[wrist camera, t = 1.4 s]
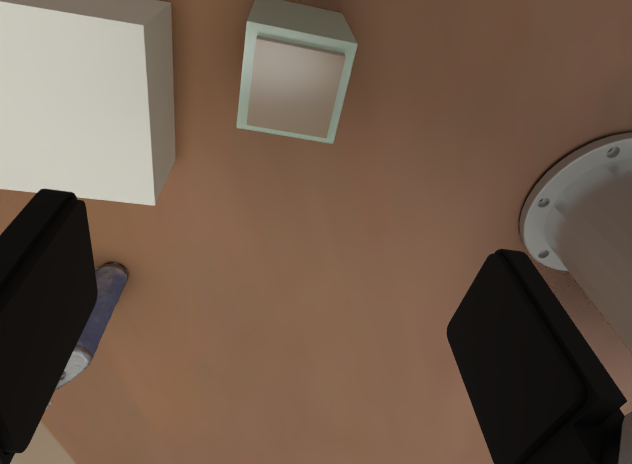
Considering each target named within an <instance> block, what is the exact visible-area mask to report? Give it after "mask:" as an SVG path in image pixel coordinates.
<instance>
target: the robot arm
mask: <svg viewBox="0 0 632 464" xmlns="http://www.w3.org/2000/svg"><path fill="white" fill-rule="evenodd" d="M519 226H520V236H521V239H522V242H523V244H524V245H525V247H526V249H527V250H528V252H529V253H530V254H531V256H532V257H533V258H534V259H535V260H536V261H538V262H539V263H541V264H543V265H544V266H546V267H549V268H552V269H556V270H562V271H569V273H570V274H571V275H572V276H573V278H574V279H575V280H576V282H577V283H578V284H579V286H580V287H581V288H582V289H583V291H584V292H585V293H586V295H587V296H588V297H589V299H590V300H591V301H592V303H593V304H594V305H595V306H596V308H597V309H598V310H599V312H600V313H601V314H602V316H603V317H604V318H605V320H606V321H607V322H608V323H609V325H610V326H611V327H612V329H613V330H614V331H615V333H616V334H617V335H618V337H619V338H620V339H621V340H622V342H623V343H624V344H625V346H626V347H627V348H628V350H629V351H630V352H631V354H632V133H624V134H619V135H613V136H609V137H606V138H603V139H600V140H597V141H594V142H592V143H590V144H588V145H586V146H584V147H582V148H580V149H578V150H576V151H574V152H573V153H571V154H570V155H568V156H567V157H565V158H564V159H562V160H561V161H560V162H558V163H557V164H556V165H555V166H554V167H553V168H551V169H550V170H549V171H548V172H547V173H546V174H545V175H544V176H543V177H542V178H541V180H540V181H539V182H538V183H537V184H536V185H535V187H534V188H533V190H532V191H531V193H530V195H529V196H528V198H527V200H526V202H525V204H524V207H523V209H522V212H521V217H520V222H519ZM97 295H98V289H97V282H96V275H95V268H94V261H93V254H92V247H91V240H90V233H89V226H88V219H87V212H86V206H85V203H84V201H82V200H77V197H76V195H75V194H74V193H73V192H67V191H59V190H52V189H41V190H40V191H38V192H37V194H36V195H35V196H34V197H33V198H32V199H31V200H30V202H29V203H28V204H27V205H26V206H25V207H24V209H23V210H22V211H21V212H20V213H19V214H18V215H17V217H16V218H15V219H14V220H13V221H12V222H11V224H10V225H9V226H8V227H7V228H6V229H5V231H4V232H3V233H2V234H1V235H0V464H10V462H11V460H12V458H13V456H14V454H15V453H22V452H23V451H25V449H26V448H27V446H28V445H29V443H30V441H31V439H32V437H33V435H34V433H35V430H36V428H37V426H38V424H39V422H40V420H41V418H42V416H43V414H44V412H45V409H46V407H47V405H48V403H49V401H50V399H51V397H52V395H53V393H54V391H55V389H56V386H57V384H58V382H59V380H60V378H61V376H62V374H63V372H64V370H65V368H66V365H67V363H68V361H69V359H70V357H71V355H72V353H73V351H74V349H75V347H76V345H77V342H78V340H79V338H80V336H81V334H82V332H83V330H84V328H85V326H86V324H87V321H88V319H89V317H90V315H91V313H92V311H93V309H94V307H95V304H96V301H97ZM447 338H448V341H449V344H450V346H451V349H452V352H453V355H454V357H455V360H456V363H457V365H458V368H459V371H460V373H461V376H462V379H463V381H464V384H465V387H466V390H467V392H468V395H469V398H470V400H471V403H472V406H473V408H474V411H475V414H476V417H477V419H478V422H479V425H480V427H481V430H482V433H483V435H484V438H485V441H486V443H487V446H488V449H489V452H490V454H491V457H492V460H493V462H494V464H632V412H630V413H628V414H626V415H625V416H624V415H623V413H622V411H621V410H620V407H621V406H622V405H624V404H625V403H626V402H627V400H626V398H625V397H624V396H623V394H622V393H621V391H620V390H619V388H618V387H617V385H616V384H615V382H614V381H613V379H612V378H611V377H610V375H609V374H608V372H607V371H606V369H605V368H604V366H603V365H602V363H601V362H600V361H599V359H598V358H597V356H596V355H595V353H594V352H593V350H592V349H591V347H590V346H589V345H588V343H587V342H586V340H585V339H584V337H583V336H582V334H581V333H580V331H579V330H578V328H577V327H576V326H575V324H574V323H573V321H572V320H571V318H570V317H569V315H568V314H567V312H566V311H565V310H564V308H563V307H562V305H561V304H560V302H559V301H558V299H557V298H556V296H555V295H554V294H553V292H552V291H551V289H550V288H549V286H548V285H547V283H546V282H545V280H544V279H543V277H542V276H541V275H540V273H539V272H538V270H537V269H536V267H535V266H534V264H533V263H532V261H531V260H530V259H529V257H528V256H527V255H526V254H525V253H524V252H521V251H513V250H506V249H499V250H497V251H496V252H495V253H494V254H491V255H489V256H488V257H487V259H486V261H485V262H484V264H483V266H482V267H481V269H480V271H479V273H478V274H477V276H476V278H475V279H474V281H473V283H472V285H471V286H470V288H469V290H468V291H467V293H466V295H465V297H464V298H463V300H462V302H461V303H460V305H459V307H458V309H457V310H456V312H455V314H454V315H453V317H452V319H451V321H450V322H449V324H448V327H447Z"/></svg>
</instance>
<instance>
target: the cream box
mask: <svg viewBox="0 0 632 464" xmlns="http://www.w3.org/2000/svg"><path fill="white" fill-rule="evenodd" d="M175 160H176V158H175V122H174V87H173V51H172V16H171V3H170V2H165V1H159V0H0V189H8V190H17V191H26V192H35V193H37V192H38V191H40V190H41V189H52V190H59V191H67V192H73V193H74V194H75V195H76V197H81V198H90V199H99V200H108V201H117V202H126V203H135V204H145V205H154V206H155V205H156V202H157V200H158V198H159V196H160V194H161V191H162V189H163V187H164V185H165V182H166V180H167V178H168V176H169V173H170V171H171V169H172V167H173V164H174V162H175Z"/></svg>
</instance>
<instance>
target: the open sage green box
mask: <svg viewBox="0 0 632 464" xmlns="http://www.w3.org/2000/svg"><path fill="white" fill-rule="evenodd" d="M357 45H358V44H357V42H356V40H355V38H354V36H353V34H352V32H351V30H350V28H349V26H348V24H347V22H346V20H345V18H344V16H343V14H342V13H339V12H334V11H330V10H325V9H321V8H316V7H311V6H307V5H302V4H298V3H293V2H289V1H284V0H254V3H253V6H252V8H251V11H250V14H249V17H248V19H247V26H246V36H245V46H244V56H243V66H242V76H241V86H240V96H239V107H238V117H237V127H236V128H242V129H248V130H254V131H259V132H265V133H271V134H277V135H283V136H289V137H295V138H301V139H307V140H313V141H319V142H325V143H331V144H333V142H334V138H335V134H336V130H337V126H338V121H339V117H340V113H341V109H342V105H343V101H344V97H345V93H346V89H347V85H348V81H349V77H350V73H351V69H352V65H353V61H354V57H355V53H356V49H357Z"/></svg>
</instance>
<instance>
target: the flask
mask: <svg viewBox="0 0 632 464" xmlns="http://www.w3.org/2000/svg"><path fill="white" fill-rule="evenodd" d="M123 268H124V267H122V266H120V265H119V264H117V263H116V262H114V263H110V264H104V265H102V266H100V267H98V268H96V271H95V275H96V282H97V289H98V295H97V301H96V304H95V307H94V309H93V311H92V313H91V315H90V317H89V319H88V321H87V324H86V326H85V328H84V330H83V332H82V334H81V336H80V338H79V340H78V342H77V345H76V347H75V349H74V351H73V353H72V355H71V357H70V359H69V361H68V363H67V365H66V368H65V370H64V372H63V374H62V376H61V378H60V380H59V382H58V384H57V386H56V389H59V388H60V387H62V386H64V385H65V384H66V383H68V382H70V381H71V380H72V379H73V378H75V377H76V376H77V375H78V374H79V373H81V372H82V371H83V370H84V369H85V368H86V367H87V366H88V365H90V362H91V360H92V359H93V356H94V353H95V352H96V350H97V347H98V344H99V342H100V339H101V337H102V335H103V333H104V331H105V328H106V326H107V323H108V321H109V319H110V318H111V315H112V312H113V310H114V307H115V305H116V304H117V302H118V300H119V298H120V295H121V293H122V290H123V288H124V286H125V284H126V282H127V279H128V272H127V270H126V268H124V269H123ZM124 270H125V271H124ZM125 272H126V273H125ZM56 389H55V390H56ZM52 402H53V401H50V403H49V404H52ZM48 408H49V405H47V407H46V409H48ZM46 409H45V410H46Z"/></svg>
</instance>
